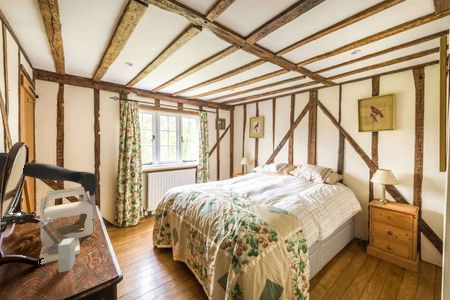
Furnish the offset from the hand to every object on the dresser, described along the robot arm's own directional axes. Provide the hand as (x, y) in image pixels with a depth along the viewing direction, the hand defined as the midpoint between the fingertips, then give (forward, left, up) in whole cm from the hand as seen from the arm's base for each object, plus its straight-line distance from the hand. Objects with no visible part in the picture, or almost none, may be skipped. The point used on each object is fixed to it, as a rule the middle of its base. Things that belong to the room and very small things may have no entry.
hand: (34, 216), depth 94 cm
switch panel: (+3, +10, -19) cm, 22 cm away
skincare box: (+20, +12, -19) cm, 30 cm away
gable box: (-14, +12, -20) cm, 27 cm away
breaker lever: (+3, +10, -14) cm, 17 cm away
